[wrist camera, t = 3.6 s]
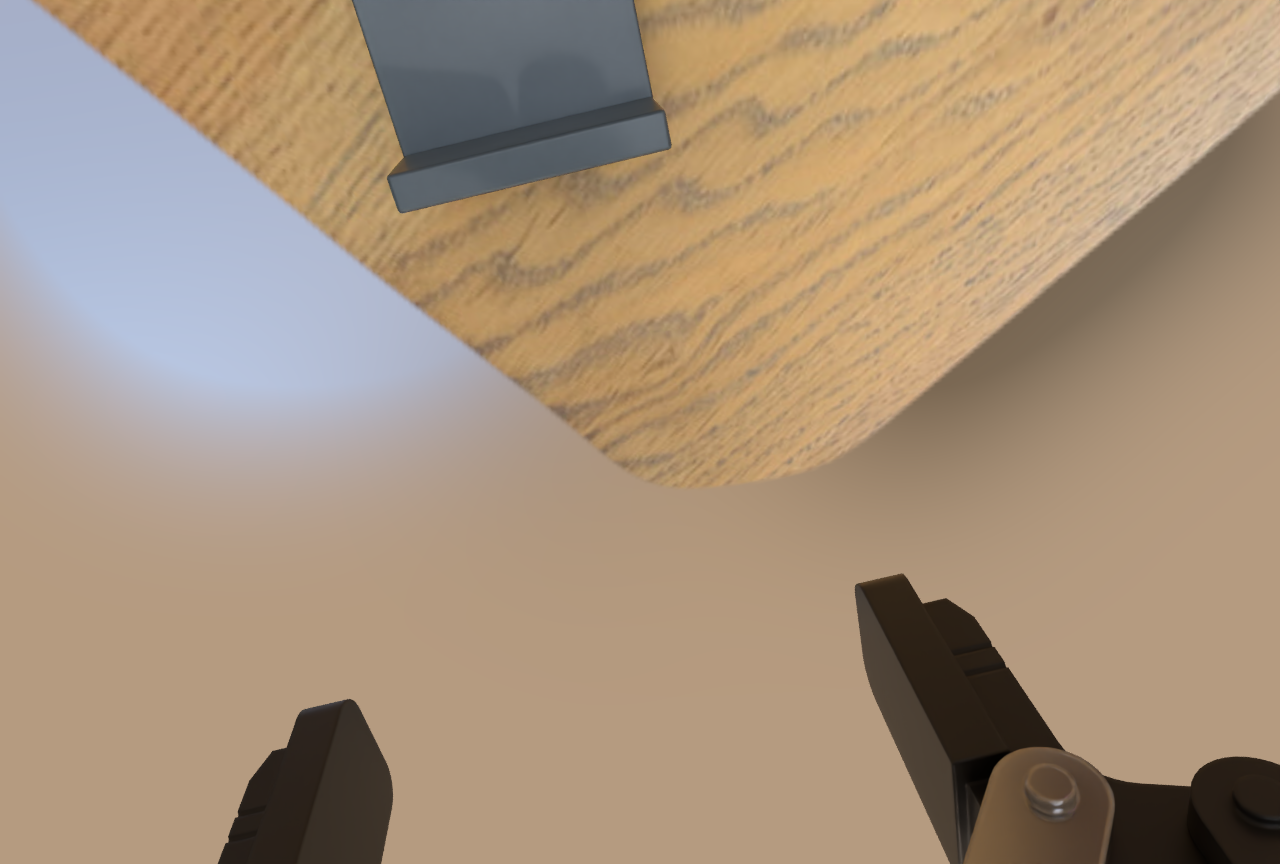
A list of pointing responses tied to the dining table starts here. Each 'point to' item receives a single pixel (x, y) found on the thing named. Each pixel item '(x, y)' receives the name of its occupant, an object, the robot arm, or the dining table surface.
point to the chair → (508, 91)
